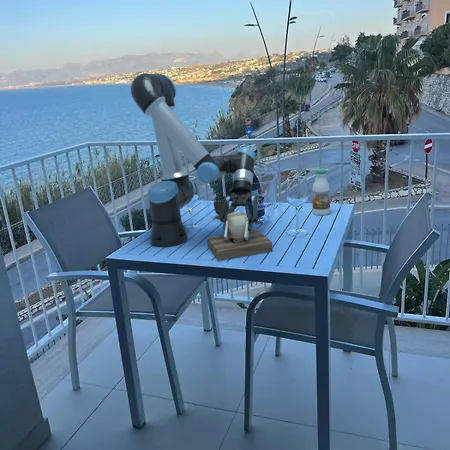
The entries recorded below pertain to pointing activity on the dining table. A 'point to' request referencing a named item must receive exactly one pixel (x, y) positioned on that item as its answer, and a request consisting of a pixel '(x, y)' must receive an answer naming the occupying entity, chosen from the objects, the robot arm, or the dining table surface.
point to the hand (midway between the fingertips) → (236, 238)
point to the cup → (219, 207)
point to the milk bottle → (321, 194)
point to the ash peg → (236, 226)
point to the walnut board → (239, 246)
